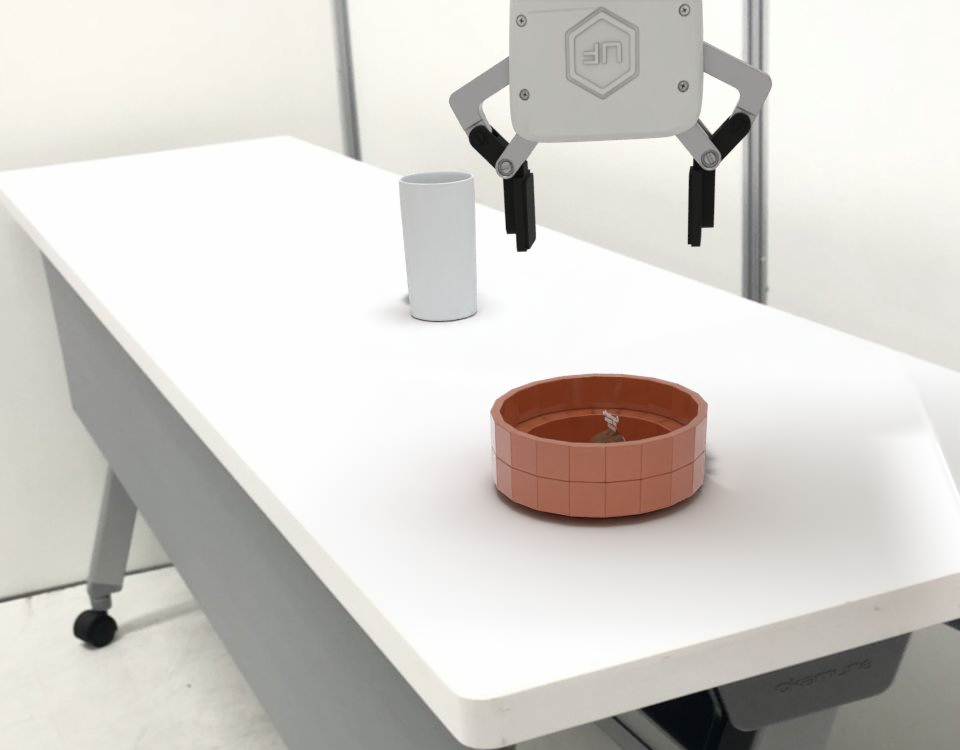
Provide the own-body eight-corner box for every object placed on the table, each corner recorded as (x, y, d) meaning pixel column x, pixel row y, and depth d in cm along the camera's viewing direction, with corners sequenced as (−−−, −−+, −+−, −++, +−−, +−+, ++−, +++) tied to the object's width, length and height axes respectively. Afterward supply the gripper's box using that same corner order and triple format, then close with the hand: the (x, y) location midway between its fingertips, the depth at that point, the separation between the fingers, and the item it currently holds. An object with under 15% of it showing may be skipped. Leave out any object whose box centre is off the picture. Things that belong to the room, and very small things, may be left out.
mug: (467, 323, 110) (461, 184, 104) (397, 321, 111) (387, 183, 105) (497, 295, 118) (493, 164, 112) (432, 293, 120) (424, 164, 114)
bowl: (705, 447, 81) (709, 374, 79) (701, 530, 70) (705, 449, 68) (511, 442, 84) (509, 371, 81) (477, 522, 72) (473, 443, 70)
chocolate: (576, 469, 77) (575, 409, 75) (606, 462, 78) (607, 402, 76) (599, 485, 75) (599, 423, 73) (630, 478, 76) (631, 416, 74)
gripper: (421, -92, 59) (449, 264, 68) (784, -123, 56) (765, 255, 65) (451, -91, 66) (473, 235, 74) (779, -118, 62) (763, 225, 71)
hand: (609, 244), depth 69 cm, fingers open, 9 cm apart
